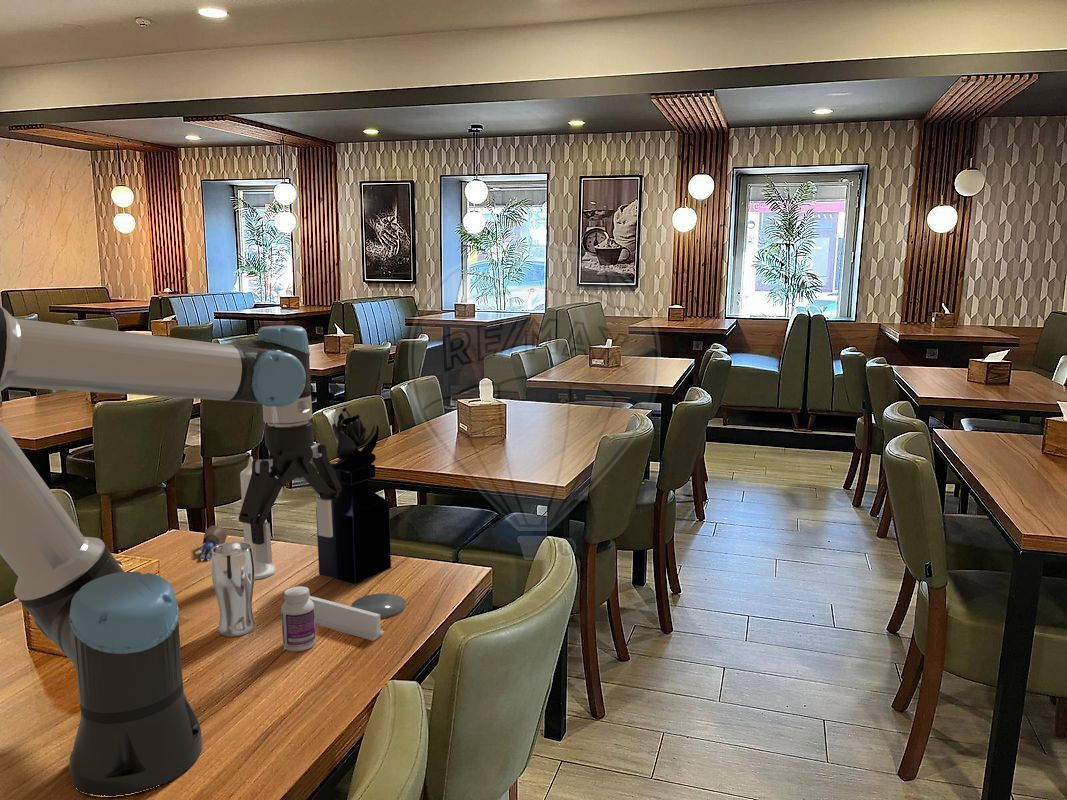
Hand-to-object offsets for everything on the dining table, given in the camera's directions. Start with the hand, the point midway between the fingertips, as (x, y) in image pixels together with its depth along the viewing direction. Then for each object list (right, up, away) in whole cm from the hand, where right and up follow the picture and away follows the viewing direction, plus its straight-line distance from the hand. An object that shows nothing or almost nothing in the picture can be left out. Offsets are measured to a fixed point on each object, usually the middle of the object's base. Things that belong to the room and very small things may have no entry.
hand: (296, 548), depth 128 cm
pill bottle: (0, -17, +3) cm, 17 cm away
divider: (+5, -16, +9) cm, 19 cm away
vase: (+2, -12, +35) cm, 37 cm away
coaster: (+10, -14, +17) cm, 25 cm away
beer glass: (-13, -16, +8) cm, 22 cm away
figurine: (-33, -10, +46) cm, 58 cm away
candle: (-18, -12, +34) cm, 40 cm away
